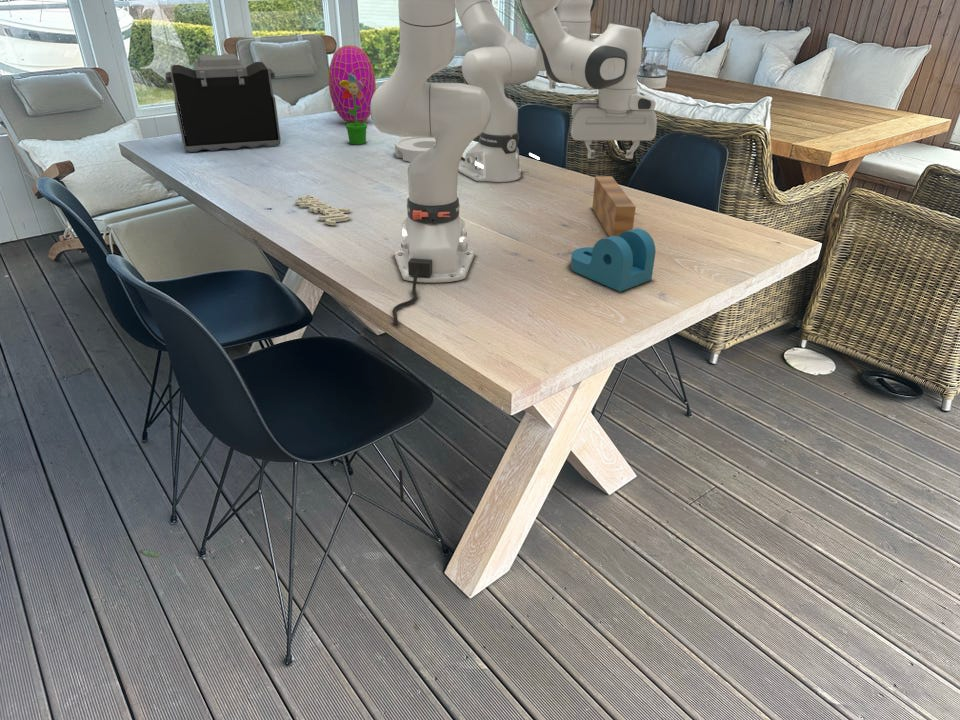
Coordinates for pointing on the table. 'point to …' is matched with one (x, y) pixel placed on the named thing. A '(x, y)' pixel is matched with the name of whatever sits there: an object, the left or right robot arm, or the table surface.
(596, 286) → the table surface
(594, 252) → the camera mount
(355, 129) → the potted flower
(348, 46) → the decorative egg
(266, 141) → the electronic device
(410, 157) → the ashtray
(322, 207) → the decorative sign
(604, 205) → the bar
